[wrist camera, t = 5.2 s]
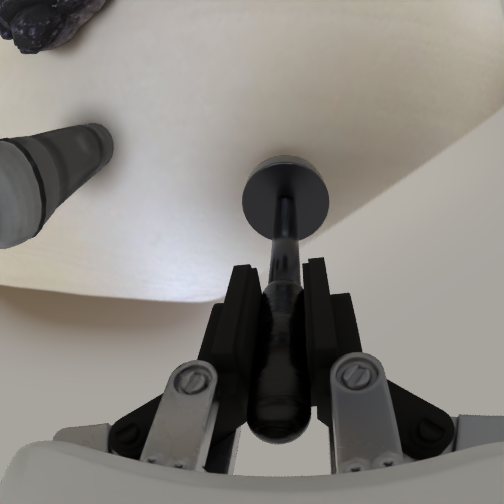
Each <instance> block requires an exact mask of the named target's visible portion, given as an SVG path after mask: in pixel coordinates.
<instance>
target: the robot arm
mask: <svg viewBox="0 0 504 504" xmlns="http://www.w3.org/2000/svg"><path fill="white" fill-rule="evenodd" d="M308 262H309V263H303V264H302V265H303V283H304V303H305V328H306V352H307V366H308V379H309V380H310V383H311V407H312V406H317V418H318V420H320V421H321V422H322V423H324V424H325V425H326V426H328V436H329V454H330V475H318V476H294V477H264V476H241V475H233V471H234V465H235V460H236V455H237V449H238V444H239V437H240V432H241V425H243V424H244V423H245V422H247V419H246V411H247V403H248V396H249V388H250V382H251V374H252V367H253V359H254V351H255V344H256V336H257V328H258V320H259V312H260V304H261V297H262V291H261V286H260V282H259V276H258V272H257V268H251V265H250V264H248V265H237V266H234V267H233V271H232V275H231V278H230V282H229V286H228V289H227V293H226V297H225V301H224V303H217V304H215V305H214V306H213V308H212V311H211V315H210V319H209V322H208V325H207V328H206V331H205V335H204V338H203V342H202V345H201V349H200V352H199V355H198V359H197V360H193V361H189V362H186V363H183V364H182V365H180V366H179V367H177V368H176V369H175V370H174V371H173V372H172V374H171V376H170V377H169V380H168V383H167V385H166V388H165V391H164V393H163V394H161V395H160V396H158V397H156V398H155V399H153V400H151V401H149V402H148V403H146V404H144V405H143V406H141V407H139V408H138V409H136V410H134V411H132V412H131V413H129V414H127V415H126V416H124V417H122V418H121V419H119V420H118V421H116V422H115V424H114V425H112V426H111V425H109V423H105V424H97V425H89V426H79V427H69V428H63V429H61V430H59V431H58V432H57V433H56V434H55V436H54V437H53V441H39V442H34V443H30V444H27V445H25V446H23V447H22V448H21V449H20V450H18V451H17V453H16V454H15V456H14V457H13V458H12V460H11V462H10V464H9V466H8V468H7V469H6V472H5V474H4V476H3V478H2V480H1V483H0V504H504V416H480V415H461V414H460V415H459V416H458V417H450V416H449V415H448V414H447V413H446V412H444V411H443V410H441V409H439V408H438V407H436V406H434V405H432V404H430V403H428V402H427V401H425V400H423V399H421V398H419V397H417V396H416V395H414V394H412V393H410V392H409V391H407V390H405V389H403V388H401V387H400V386H398V385H396V384H394V383H393V382H391V381H389V380H387V379H386V376H385V372H384V368H383V366H382V364H381V362H380V361H379V360H378V359H377V358H376V357H374V356H372V355H370V354H367V353H363V352H362V347H361V343H360V337H359V332H358V327H357V323H356V318H355V313H354V309H353V305H352V301H351V296H350V293H342V294H332V295H330V291H329V285H328V279H327V273H326V267H325V261H324V257H323V258H312V259H308Z"/></svg>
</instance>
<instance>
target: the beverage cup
mask: <svg viewBox="0 0 504 504" xmlns="http://www.w3.org/2000/svg"><path fill="white" fill-rule="evenodd" d="M112 153H113V141H112V138H111V135H110V133H109V132H108V131H107V129H106V128H104V127H103V126H102V125H99V124H96V123H95V124H88V125H87V124H85V125H77V126H72V127H67V128H62V129H57V130H53V131H48V132H44V133H40V134H36V135H32V136H28V137H27V136H24V137H15V138H10V139H9V138H3V139H0V249H6V248H10V247H13V246H16V245H19V244H21V243H23V242H25V241H26V240H28V239H31V238H33V237H35V236H36V235H37V234H38V233H39V232H40V230H41V229H42V227H43V225H44V224H45V223H46V222H47V220H48V219H49V218H50V217H51V215H52V214H53V213H54V212H55V209H57V208H58V207H59V206H60V205H61V204H62V203H63V202H64V201H65V200H66V199H67V198H68V197H70V196H71V195H72V194H73V193H74V192H75V191H76V190H77V189H79V188H80V187H81V186H82V185H83V184H84V183H86V182H87V181H88V180H89V179H90V178H91V177H93V176H94V175H95V174H96V173H97V172H98V171H100V170H101V169H102V167H104V166H105V165H106V164H107V163H108V162H109V160H110V159H111V157H112Z"/></svg>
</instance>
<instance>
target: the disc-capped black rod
mask: <svg viewBox="0 0 504 504" xmlns="http://www.w3.org/2000/svg"><path fill="white" fill-rule="evenodd" d="M242 207H243V211H244V214H245V217H246V219H247V221H248V222H249V224H250V225H251V226H252V228H253V229H254V230H255V231H257V232H258V233H259V234H261V235H262V236H264V237H266V238H268V239H271V240H272V250H271V261H270V271H269V272H270V273H269V282H268V286H267V287H266V288H265V290H264V291H263V293H262V297H261V304H260V312H259V320H258V328H257V336H256V344H255V351H254V359H253V367H252V374H251V382H250V388H249V396H248V403H247V411H246V419H247V423H248V426H249V428H250V430H251V431H252V432H253V434H254V435H255V436H256V437H258V438H259V439H260V440H262V441H264V442H267V443H270V444H285V443H289V442H292V441H294V440H295V439H297V438H299V437H300V436H301V435H302V434H303V433H304V432H305V430H306V429H307V427H308V425H309V422H310V419H311V383H310V380H309V379H308V366H307V352H306V328H305V303H304V289H303V288H302V286H301V282H300V261H299V243H298V241H299V240H302V239H304V238H306V237H308V236H310V235H312V234H313V233H314V232H315V231H317V230H318V229H319V227H320V226H321V225H322V224H323V222H324V220H325V218H326V216H327V213H328V209H329V195H328V191H327V188H326V185H325V183H324V180H323V178H322V176H321V174H320V173H319V171H318V170H317V169H316V168H315V167H314V166H313V165H312V164H311V163H309V162H308V161H306V160H304V159H302V158H299V157H296V156H290V155H280V156H275V157H271V158H269V159H267V160H265V161H263V162H261V163H260V164H259V165H258V166H257V167H256V168H255V169H254V170H253V171H252V173H251V174H250V176H249V178H248V181H247V183H246V186H245V189H244V191H243V196H242Z"/></svg>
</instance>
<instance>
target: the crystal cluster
mask: <svg viewBox="0 0 504 504" xmlns="http://www.w3.org/2000/svg"><path fill="white" fill-rule="evenodd" d="M105 1H106V0H0V35H1V37H2V38H3V39H6V40H11V39H13V40H14V44H15V46H17V47H18V49H20V52H21V53H22V54H37V53H38V52H39V51H45V50H50V49H53V48H54V47H56V46H59V45H61V44H64V43H65V42H67V41H68V40H70V39H71V38H72V37H73V36H74V34H75V32H76V31H77V30H78V29H79V27H80V26H81V25H82V24H83V23H85V22H86V21H87V20H88V19H90V18H91V17H92V15H93V14H94V13H96V12H98V11H99V10H100V9H101V7H102V6H103V4H104V3H105Z"/></svg>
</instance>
